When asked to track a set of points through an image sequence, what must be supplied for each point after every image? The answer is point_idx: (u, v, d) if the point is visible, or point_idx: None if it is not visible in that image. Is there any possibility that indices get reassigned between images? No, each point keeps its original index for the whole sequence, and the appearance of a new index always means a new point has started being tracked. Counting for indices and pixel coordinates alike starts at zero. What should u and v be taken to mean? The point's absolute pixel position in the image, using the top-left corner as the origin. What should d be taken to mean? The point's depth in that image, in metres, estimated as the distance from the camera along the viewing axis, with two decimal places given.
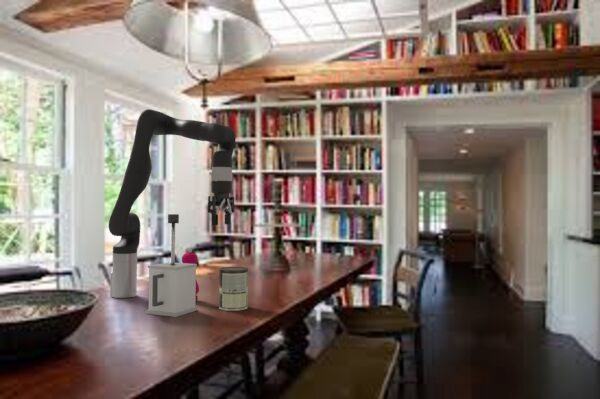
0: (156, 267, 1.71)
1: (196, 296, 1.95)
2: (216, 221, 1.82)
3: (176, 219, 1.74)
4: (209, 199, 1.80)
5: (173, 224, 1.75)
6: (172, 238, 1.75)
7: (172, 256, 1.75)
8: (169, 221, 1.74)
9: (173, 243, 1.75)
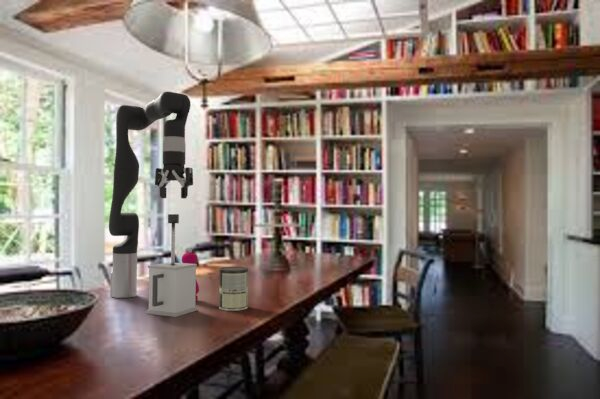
0: (156, 267, 1.71)
1: (196, 296, 1.95)
2: None
3: (176, 219, 1.74)
4: (189, 171, 1.72)
5: (173, 224, 1.75)
6: (172, 238, 1.75)
7: (172, 256, 1.75)
8: (169, 221, 1.74)
9: (173, 243, 1.75)
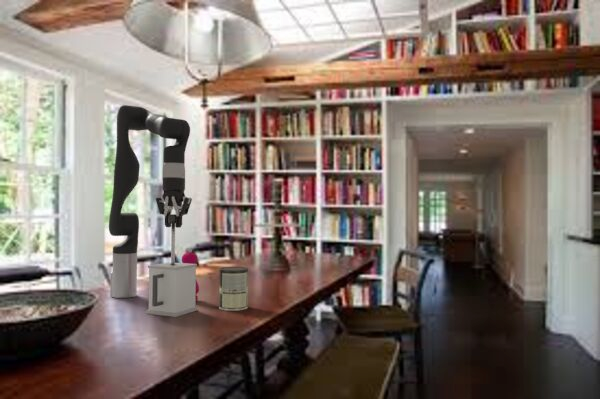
0: (156, 267, 1.71)
1: (196, 296, 1.95)
2: None
3: None
4: (187, 202, 1.72)
5: (173, 224, 1.75)
6: (172, 238, 1.75)
7: (172, 256, 1.75)
8: (169, 221, 1.74)
9: (173, 243, 1.75)
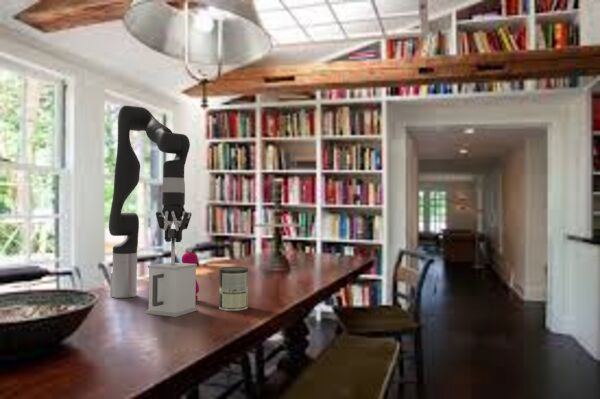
0: (156, 267, 1.71)
1: (196, 296, 1.95)
2: None
3: None
4: (187, 217, 1.72)
5: (173, 239, 1.75)
6: (172, 253, 1.75)
7: None
8: (169, 236, 1.74)
9: (173, 258, 1.75)
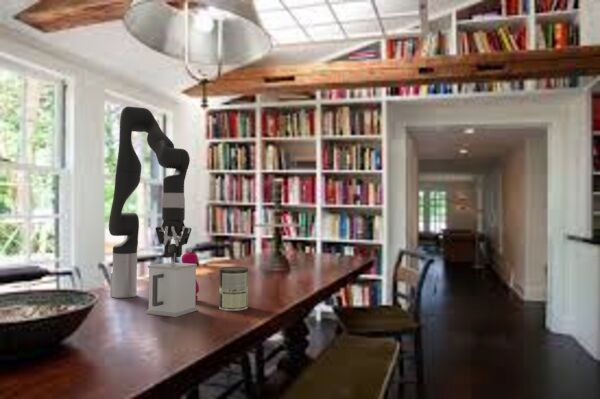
0: (156, 267, 1.71)
1: (196, 296, 1.95)
2: None
3: None
4: (187, 232, 1.72)
5: (173, 254, 1.75)
6: None
7: None
8: (169, 251, 1.74)
9: None
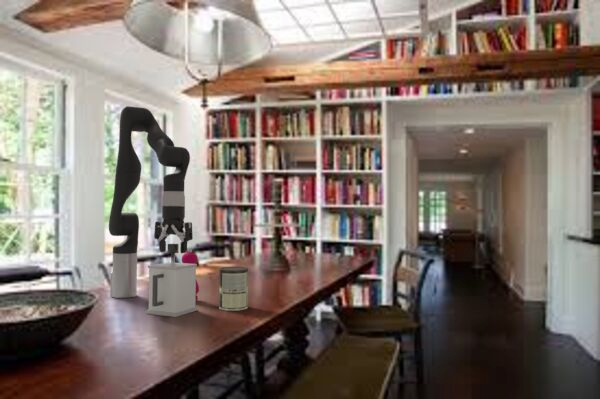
0: (156, 267, 1.71)
1: (196, 296, 1.95)
2: None
3: (176, 249, 1.74)
4: (188, 226, 1.72)
5: (173, 254, 1.75)
6: None
7: None
8: (169, 251, 1.74)
9: None
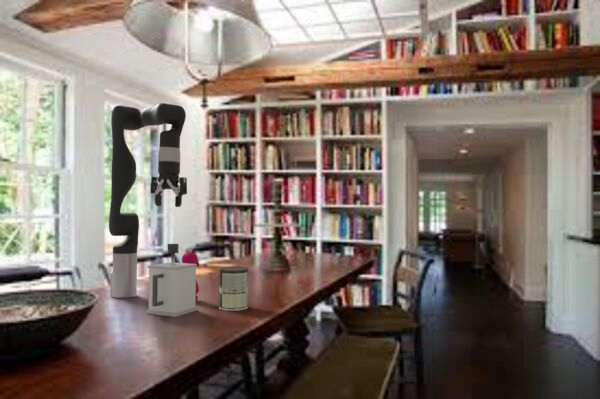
0: (156, 267, 1.71)
1: (196, 296, 1.95)
2: None
3: (176, 249, 1.74)
4: (183, 181, 1.79)
5: (173, 254, 1.75)
6: None
7: None
8: (169, 251, 1.74)
9: None
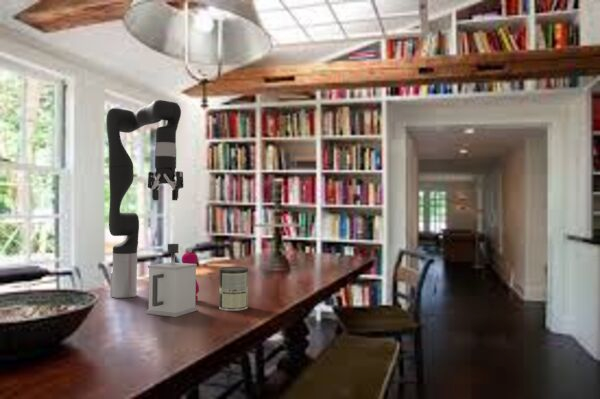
0: (156, 267, 1.71)
1: (196, 296, 1.95)
2: None
3: (176, 249, 1.74)
4: (179, 174, 1.83)
5: (173, 254, 1.75)
6: None
7: None
8: (169, 251, 1.74)
9: None
